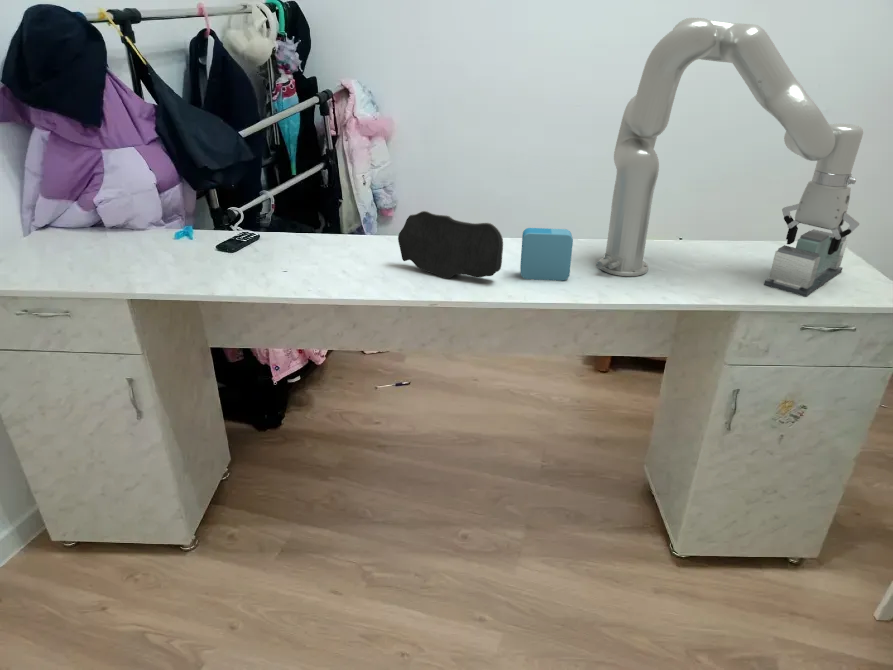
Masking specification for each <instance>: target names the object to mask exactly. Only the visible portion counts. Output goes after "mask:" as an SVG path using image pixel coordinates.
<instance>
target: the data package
mask: <svg viewBox="0 0 893 670" xmlns="http://www.w3.org/2000/svg"><path fill="white" fill-rule="evenodd" d="M573 246H574V239H573V236H572V232H571V231H570V230H569V229H566V228H549V227H548V228H545V227H544V228H542V227H527V228H525V229H524V230H523V232H522V237H521V255H520V267H519V269H520V276H521V278H523V279H525V280H531V279H534V281H537V280H538V281H539V280H540V281H555V280H556V281H558V282H560V281H561V282H563V281H567V280H568V279H569V277H570V273H571V265H572V264H571V263H572V262H571V261H572V256H573V255H572V253H573Z"/></svg>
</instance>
